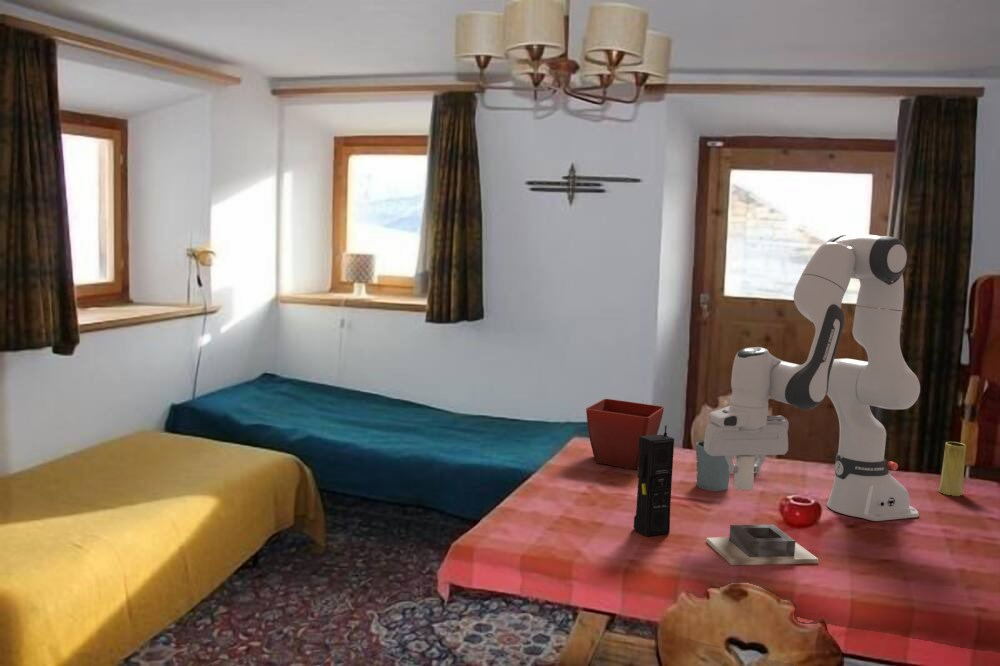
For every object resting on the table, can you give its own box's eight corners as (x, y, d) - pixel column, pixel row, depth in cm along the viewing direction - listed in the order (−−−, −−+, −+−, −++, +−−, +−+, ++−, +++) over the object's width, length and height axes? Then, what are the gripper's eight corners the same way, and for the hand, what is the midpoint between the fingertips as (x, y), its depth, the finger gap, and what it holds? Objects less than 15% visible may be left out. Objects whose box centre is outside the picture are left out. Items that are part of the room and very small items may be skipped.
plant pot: (661, 459, 279) (665, 405, 277) (644, 474, 262) (648, 417, 260) (601, 450, 287) (604, 398, 285) (581, 464, 269) (584, 408, 267)
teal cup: (738, 489, 252) (741, 446, 250) (712, 493, 246) (716, 450, 244) (710, 479, 260) (713, 438, 258) (685, 483, 254) (688, 441, 253)
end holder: (787, 540, 212) (788, 521, 212) (817, 563, 198) (819, 543, 198) (706, 541, 209) (707, 522, 208) (731, 565, 195) (733, 545, 194)
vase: (939, 494, 255) (944, 444, 254) (937, 488, 261) (943, 440, 259) (963, 497, 253) (969, 447, 251) (961, 492, 259) (967, 443, 257)
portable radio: (644, 538, 209) (651, 431, 206) (628, 529, 214) (635, 425, 211) (671, 534, 213) (679, 429, 210) (655, 525, 218) (662, 423, 215)
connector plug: (747, 484, 221) (750, 452, 220) (756, 490, 217) (758, 457, 216) (730, 484, 220) (732, 452, 219) (738, 490, 216) (740, 457, 215)
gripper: (782, 412, 221) (778, 467, 223) (702, 413, 217) (699, 469, 219) (795, 418, 215) (791, 475, 217) (713, 419, 211) (709, 477, 213)
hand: (744, 472), depth 218 cm, fingers closed on connector plug, 4 cm apart
